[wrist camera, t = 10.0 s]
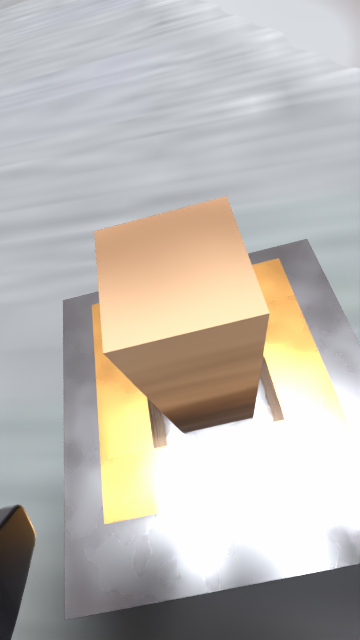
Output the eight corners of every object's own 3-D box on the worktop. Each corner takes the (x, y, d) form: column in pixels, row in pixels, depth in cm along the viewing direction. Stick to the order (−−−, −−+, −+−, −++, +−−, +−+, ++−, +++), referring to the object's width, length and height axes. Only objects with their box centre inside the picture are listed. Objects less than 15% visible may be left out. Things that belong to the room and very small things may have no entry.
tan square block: (253, 417, 18) (269, 313, 8) (182, 433, 18) (103, 353, 8) (234, 352, 20) (226, 196, 9) (170, 367, 20) (94, 231, 10)
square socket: (444, 541, 15) (519, 558, 11) (76, 612, 16) (20, 652, 12) (304, 250, 24) (317, 199, 20) (70, 308, 25) (37, 272, 21)
